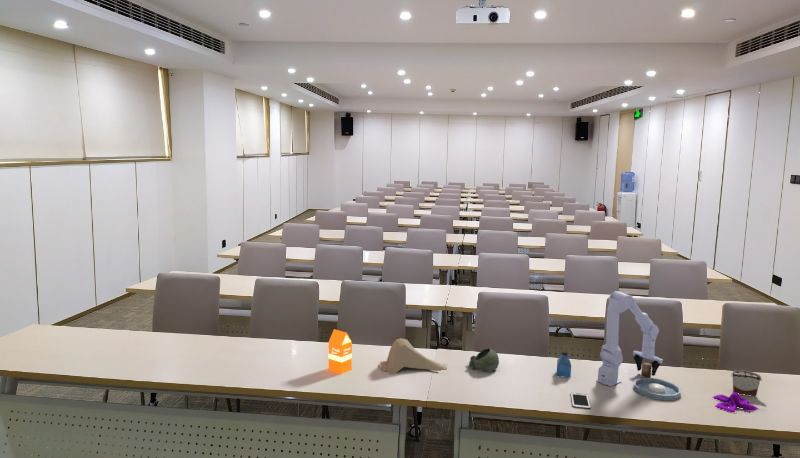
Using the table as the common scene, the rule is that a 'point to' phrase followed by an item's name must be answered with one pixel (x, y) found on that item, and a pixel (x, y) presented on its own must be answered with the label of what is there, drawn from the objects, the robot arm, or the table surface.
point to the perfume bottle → (564, 365)
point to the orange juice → (340, 352)
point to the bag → (407, 358)
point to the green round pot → (485, 360)
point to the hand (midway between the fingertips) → (646, 372)
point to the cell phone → (580, 400)
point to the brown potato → (646, 370)
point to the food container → (745, 382)
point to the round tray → (657, 389)
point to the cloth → (733, 402)
